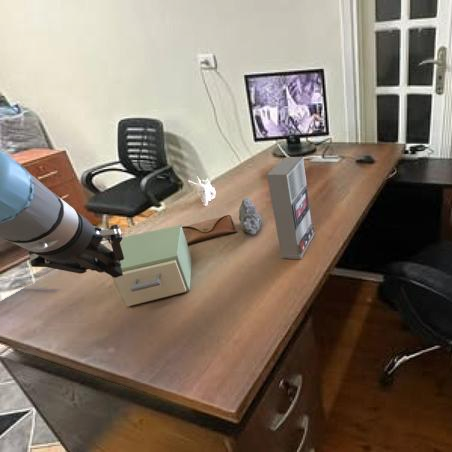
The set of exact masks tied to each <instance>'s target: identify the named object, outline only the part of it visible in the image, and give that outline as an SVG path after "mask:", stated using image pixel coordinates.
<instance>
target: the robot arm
mask: <svg viewBox="0 0 452 452" xmlns="http://www.w3.org/2000/svg"><path fill="white" fill-rule="evenodd" d="M0 238H2V239H3V240H5V241H8V242H10V243H12V244H14V245H16V246H18V247H20V248H23V249H25V250H27V251H28V256H29V260H30V266H31V268H50V269H54V270H59V271H64V272H70V273H74V274H79V275H80V274H85V273H87V270H90V271H92V272H94V271H95V272H97V273H99V274H100V273H101V274H102V273H106V274H107V275H109V276H110V277H111V278H112V277H114V278H116V277H119V276H122V275H123V273H122V269H121V263H120V261H121V260H123V259H124V255H123V252H122V248H121V245H120V244H121V242H122V239H123V234H122V231H121V227H120V225H119V224H112V225H110V226H109V228H106V229H102V228H101V227H100V226H97V225H93V224H92V223H91V222H90V221H89V220H88V219H87V218H86V217H84V216H83V215H82V214H81V213H80V212H78V211H77V210H76V209H74V207H72V205H70V204H69V203H67V202H66V201H65V200H63V198H61V197H60V196H58V195H57V194H56V193H55V192H54V191H51V190H50V189H49V188H48V187H46V185H44V184H43V183H42V182H41V181H40V180H38V178H36V176H34V175H32V174H31V173H30V172H29V171H28V170H27V169H26V167H24V166H23V165H22V164H21V163H20V162H18V161H16V160H15V159H14V158H12V157H11V156H10V155H8V154H7V153H4V152H2V151H1V150H0ZM103 239H105V241H108V244H110V245H111V248H112V250H111V249H110V248H108V247H107V246H106V245H105V244H103V243H102V241H103Z"/></svg>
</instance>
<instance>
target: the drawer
mask: <svg viewBox="0 0 452 452" xmlns="http://www.w3.org/2000/svg"><path fill="white" fill-rule="evenodd" d="M122 273H123V275H122V276H119V277H116V278H114V277H113V278H112V280H113V279H114V280H113V282H114V281H115V282H114V284H115V283H116V284H115V286H116V285H117V286H116V288H117V287H118V289H119V291H120V293H121V295H120V297H121V296H122V297H121V299H122V298H123V299H122V301H123V300H124V301H123V303H124V302H125V303H124V305H125V304H126V305H125V307H126V306H128V307H132V306H135V305H134V304H136V305H139V304H138V303H140V304H143V303H142V302H144V303H147V302H146V301H148V302H151V301H150V300H152V301H155V300H154V299H156V300H159V299H158V298H160V299H163V298H162V297H164V298H167V297H166V296H168V297H171V296H170V295H172V296H175V295H174V294H176V295H179V294H178V293H180V294H183V293H182V292H184V293H187V292H186V287H185V284H184V281H183V278H182V276H181V273H180V270H179V267H178V265H177V262H176V260H170V261H168V262H164V263H159V264H155V265H151V266H146V267H142V268H138V269H133V270H127V271H122ZM118 289H117V290H118ZM119 291H118V292H119ZM120 293H119V294H120ZM131 305H132V306H131Z"/></svg>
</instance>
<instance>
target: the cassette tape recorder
mask: <svg viewBox="0 0 452 452" xmlns="http://www.w3.org/2000/svg"><path fill="white" fill-rule="evenodd" d="M266 178H267V185H268V189H269V196H270V200H271V206H272V212H273V217H274V222H275V223H274V224H275V229H276V234H277V239H278V244H279V245H278V246H279V251H280V258H281V259H290V260H302V259H303V257H304V255H305V253H306V251H307V249H308V247H309V246H310V244H311V241H312V240H313V238H314V236H315V233H316V232H315V229H314V224H313V223H312V217H311V208H310V202H309V201H310V200H309V193H308V185H307V184H308V183H307V176H306V169H305V162H304V156H285V157H284V158H283V159H282V160H280V161H279V162H278V163H277V164H276V165H275V166H274V167H273V168H272V169H271V170H270V171H269V172H267V174H266Z"/></svg>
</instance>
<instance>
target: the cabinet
mask: <svg viewBox="0 0 452 452" xmlns="http://www.w3.org/2000/svg"><path fill="white" fill-rule="evenodd" d="M182 227H183V226H182V225H181V224H179V225H175V226H169V227H165V228H161V229H155V230H151V231H145V232H142V233H135V234H132V235H126V236H122V238H123V239H122V241H121V242H120V245H121V248H122V252H123V255H124V259H123V260H121V261H120V263H121V269H122V271H127V270H131V269H135V268H140V267H144V266H149V265H153V264H157V263H162V262H166V261H170V260H176V262H177V265H178V267H179V270H180V273H181V276H182V278H183V281H184V284H185V287H186V292H182V293H178V294H174V295H170V296H166V297H162V298H158V299H154V300H150V301H146V302H142V303H138V304H134V305H131V306H130V307H133V306H135V305H136V306H137V305H140V304H145V303H148V302H152V301H155V300H159V299H164V298H167V297H171V296H175V295H179V294H184V293H187V292H188V293H189V292H190V291H191V277H192V275H191V274H192V261H193V259H192V258H193V257H192V253H191V251H190V248H189V247H190V246H189V245H188V244H187V241H186V238H185V235H184V232H183V229H182ZM111 278H112V280H113V282H114V284H115V287H116V288H117V290H118V293H119V295H120V297H121V299H122V301H123V303H124V305H125V307H126V308H127V307H129V306H126V304H125V302H124V300H123V298H122V296H121V293H120V291H119V289H118V287H117V285H116V283H115V281H114V279H113V277H112V276H111Z"/></svg>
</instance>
